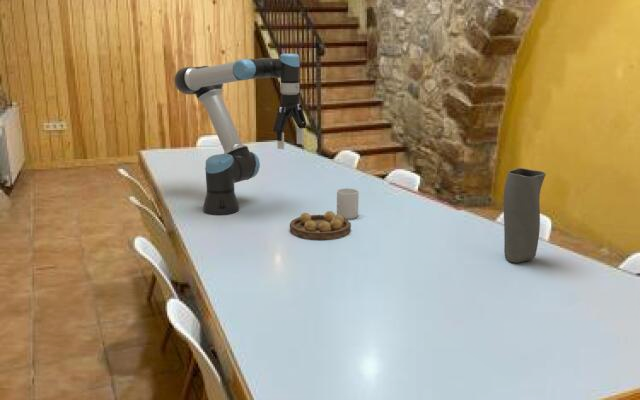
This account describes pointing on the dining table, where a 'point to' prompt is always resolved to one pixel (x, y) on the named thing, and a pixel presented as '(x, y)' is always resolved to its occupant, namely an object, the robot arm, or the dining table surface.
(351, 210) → the mug
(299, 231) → the tray
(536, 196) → the vase
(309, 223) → the seated beads
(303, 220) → the bead
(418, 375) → the dining table surface
